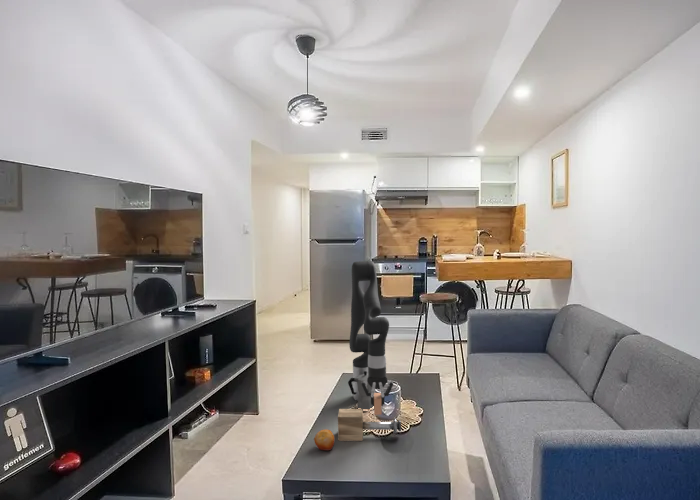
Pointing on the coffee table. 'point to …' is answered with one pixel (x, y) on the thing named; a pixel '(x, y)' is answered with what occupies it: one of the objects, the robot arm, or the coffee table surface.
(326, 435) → the fruit
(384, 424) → the shaft
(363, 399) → the coffeepot
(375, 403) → the block
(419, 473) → the coffee table surface
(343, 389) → the coffee table surface
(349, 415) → the wooden block
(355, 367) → the robot arm
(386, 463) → the coffee table surface
